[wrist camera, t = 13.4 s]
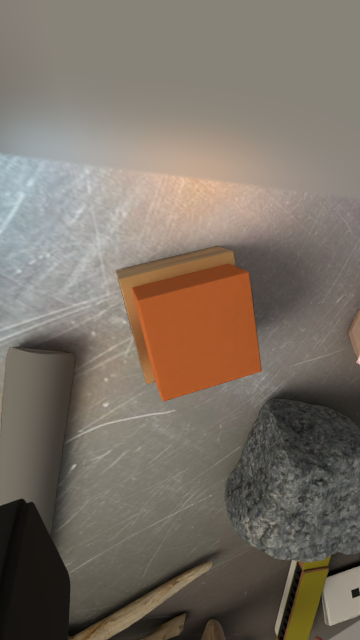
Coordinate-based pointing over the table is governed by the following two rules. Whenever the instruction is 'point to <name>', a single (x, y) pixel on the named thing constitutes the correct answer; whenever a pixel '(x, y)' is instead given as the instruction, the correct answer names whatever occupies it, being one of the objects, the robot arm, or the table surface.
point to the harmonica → (301, 599)
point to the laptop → (341, 596)
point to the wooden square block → (157, 273)
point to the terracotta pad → (199, 329)
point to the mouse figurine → (355, 334)
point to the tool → (139, 607)
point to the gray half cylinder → (34, 426)
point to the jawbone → (167, 629)
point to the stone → (298, 483)
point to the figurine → (219, 631)
